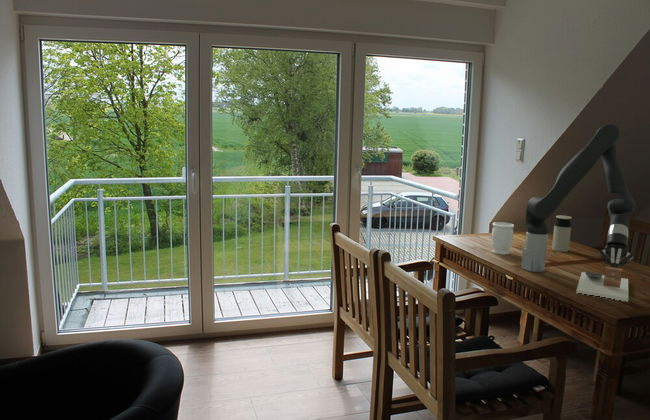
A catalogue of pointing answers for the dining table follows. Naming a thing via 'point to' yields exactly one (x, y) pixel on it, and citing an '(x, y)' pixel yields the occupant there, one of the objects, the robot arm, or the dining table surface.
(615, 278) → the tile two dots
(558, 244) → the travel mug
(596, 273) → the tile one dot
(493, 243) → the jar
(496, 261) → the dining table surface
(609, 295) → the board
